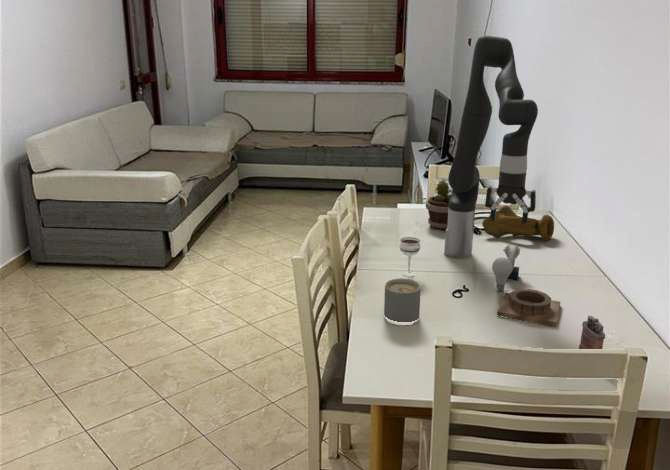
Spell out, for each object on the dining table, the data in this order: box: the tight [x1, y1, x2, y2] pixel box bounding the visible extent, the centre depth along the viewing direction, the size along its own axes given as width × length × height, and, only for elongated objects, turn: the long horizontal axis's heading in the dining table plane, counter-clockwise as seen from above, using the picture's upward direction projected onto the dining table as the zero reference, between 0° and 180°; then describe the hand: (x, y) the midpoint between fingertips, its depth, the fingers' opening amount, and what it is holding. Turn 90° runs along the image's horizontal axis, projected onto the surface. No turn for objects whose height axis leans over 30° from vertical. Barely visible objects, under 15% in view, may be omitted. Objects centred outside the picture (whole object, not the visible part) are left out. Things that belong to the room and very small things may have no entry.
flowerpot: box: [425, 176, 452, 231], centre depth 241 cm, size 14×15×20 cm
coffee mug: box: [383, 277, 422, 322], centre depth 168 cm, size 13×10×10 cm
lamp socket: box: [496, 288, 561, 328], centre depth 171 cm, size 16×14×4 cm
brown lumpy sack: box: [578, 315, 606, 350], centre depth 147 cm, size 8×3×10 cm, turn 5°
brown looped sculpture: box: [482, 205, 555, 241], centre depth 231 cm, size 18×13×22 cm
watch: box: [502, 244, 521, 282], centre depth 193 cm, size 6×8×11 cm
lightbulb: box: [491, 257, 513, 292], centre depth 183 cm, size 6×6×11 cm
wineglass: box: [399, 236, 421, 273], centre depth 196 cm, size 7×7×12 cm
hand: (508, 222), depth 178 cm, fingers open, 8 cm apart
